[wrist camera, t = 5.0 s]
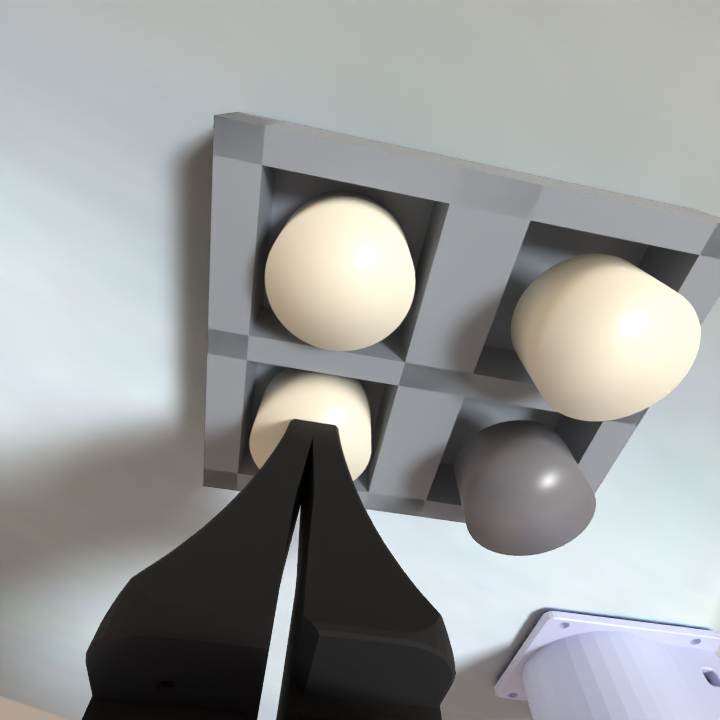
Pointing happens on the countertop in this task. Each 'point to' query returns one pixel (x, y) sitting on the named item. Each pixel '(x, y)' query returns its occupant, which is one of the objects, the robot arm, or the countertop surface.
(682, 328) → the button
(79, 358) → the countertop surface
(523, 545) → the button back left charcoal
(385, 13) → the countertop surface
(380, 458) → the button board
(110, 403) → the countertop surface
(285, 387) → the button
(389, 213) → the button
